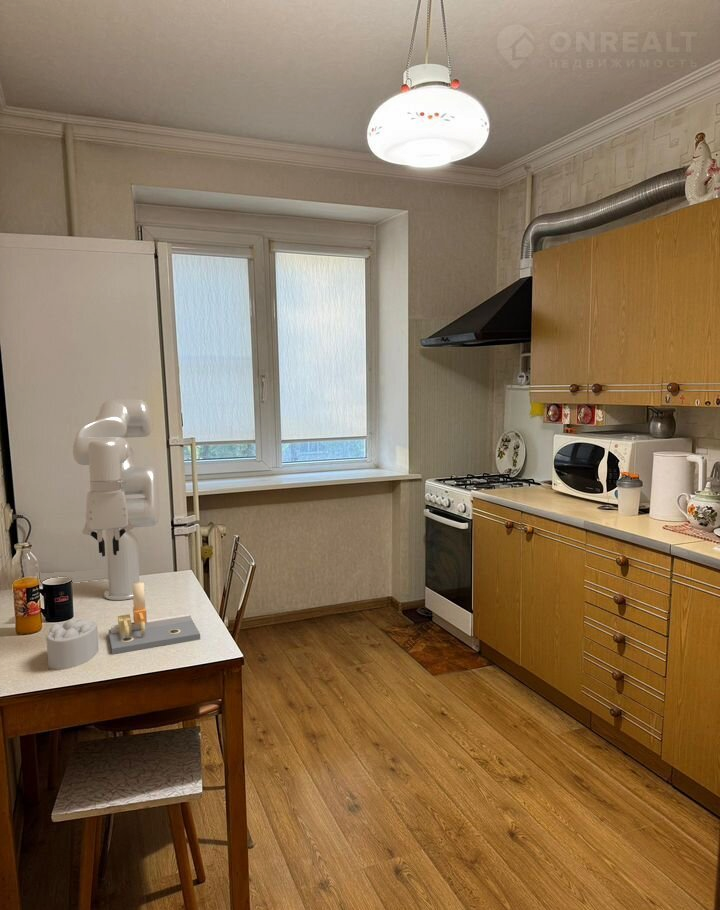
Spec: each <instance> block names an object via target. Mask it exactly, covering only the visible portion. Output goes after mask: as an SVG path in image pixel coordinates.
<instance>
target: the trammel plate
mask: <svg viewBox="0 0 720 910" xmlns="http://www.w3.org/2000/svg"><path fill="white" fill-rule="evenodd" d="M108 637H109V643H110V649H111V653H112V655H116V654H122V653H123V654H124V653H128V652H135V651H140V650H145V649H151V648H156V647H157V648H159V647H163V646H169V645H174V644H180V643H185V642H191V641H197V640H201V633H200V631H199V629H198V627H197V626H196V623H195V622H194V620H193V619H192V617H191V614H190V613H187V614H180V615H179V614H178V615H173V616H172V615H171V616H165V617H160V618H159V617H158V618H154V619H153V618H152V619H147V623H145V636H141V624H138V625H135V623H134V621H133V622H132V619H131V616H130V614H129V613H128V614H123V615H117V624H116V625H110V629H108Z"/></svg>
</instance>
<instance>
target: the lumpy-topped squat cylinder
mask: <svg viewBox="0 0 720 910" xmlns="http://www.w3.org/2000/svg"><path fill="white" fill-rule="evenodd" d="M98 633H99V632H98V624H97V622H95V621H91V620H89V619H68V620H66V621H65V622H63V623H60V624H59V623H55V624H53V625H52V626H51V627H50V628H49V631H48V632H47V633H46V647H47V648H46V650H47V665H48V667H49V668H50V669H52V670H55V671H61V670H67V669H72V668H76V667H79V666H81V665H84V664H85V663H88V662H89V661H91V660H92V659H94V657H95V656H96V655H97V654H99V634H98Z"/></svg>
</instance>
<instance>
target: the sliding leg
mask: <svg viewBox="0 0 720 910" xmlns="http://www.w3.org/2000/svg"><path fill="white" fill-rule="evenodd" d="M144 588H145V582H143V581H142V582H141V581H140V582H137V583H134V584H133V598H132V600H133V607H132V613H133V617H132V618H133V622H134V623H135V625H138V624H141V636H145V623H147V620H148V618H147V609H146V596H145V594H146V589H145V590H144Z"/></svg>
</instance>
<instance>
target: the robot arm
mask: <svg viewBox="0 0 720 910" xmlns="http://www.w3.org/2000/svg"><path fill="white" fill-rule="evenodd" d="M152 419H153V418H152V415H151V410H150V407H149V405H148V404H147V403H146V401H144V400H143V399H140V398H139V399H138V398H119V399H118V398H116V399H115V398H114V399H109V400H106V401H104V402H103V403H102V404H101V406H100V408H99V412H98V415H97V416H96V417H95V420H94V421H92V422H90V423H88V424H86V425H83V426H82V427H81V428H79V429H78V431H77V432H76V435H75V438H74V441H73V446H72V456H73V459H74V462H76V463H77V464H79V465H81V466H89V467H88V468H89V484H90V486H89V487H90V490H89V491H88V492H87V494H86V499H85V501H86V506H85V507H86V508H85V510H86V511H85V519H86V521H85V523H84V525H83V527H82V530H81V531H82V534H84V535H86V536H91V537H92V538H93V539H94V540H96V541H97V542H98V553H99V554H101V557H102V558H103V557H105V556H107V557H106V558H107V559H106V560H107V561H106V562H107V577H108V578H107V580H108V589H107V590H105V591H104V592H103V597H104V598H105V599H106V600H107V599H108V600H112V601H124V600H131V599H132V600H133V584H134V583H137V582H141V580H140V564H139V562H140V561H139V560H140V559H139V542H138V539H137V537H136V535H135V534H134V533H133V532H132V531H131V530H132V529H134V528H135V529H137V528H148V527H154V526H156V525H158V523H159V522H160V496H159V477H158V472H157V470H156V469H155V467H154V466H151V465H146V464H145V465H135V460H134V458H135V457H134V451H133V448H131V446H130V443H129V442H128V441H127V440H126V439H127V438H146V437H148V436H150V435H151V434H152V430H153V420H152ZM125 438H126V439H125ZM132 495H133V496H136V495H142V496H144V497H137V498H135V497H134V498H131V497H130V498H129V497H128V498H126V496H132ZM103 531H105V539H106V540H104V537H103ZM105 541H106V542H105ZM105 543H106V545H105ZM144 590H145V591H146V588H145V587H144Z"/></svg>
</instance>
